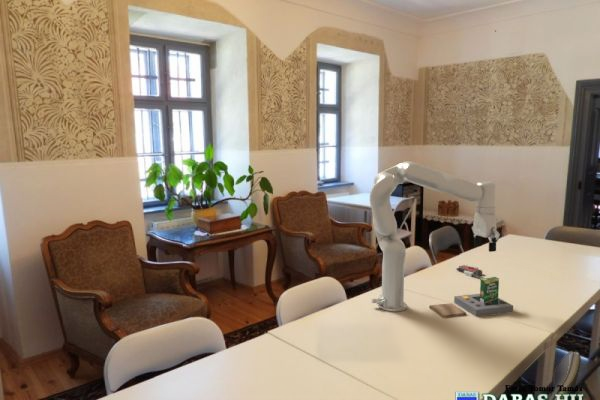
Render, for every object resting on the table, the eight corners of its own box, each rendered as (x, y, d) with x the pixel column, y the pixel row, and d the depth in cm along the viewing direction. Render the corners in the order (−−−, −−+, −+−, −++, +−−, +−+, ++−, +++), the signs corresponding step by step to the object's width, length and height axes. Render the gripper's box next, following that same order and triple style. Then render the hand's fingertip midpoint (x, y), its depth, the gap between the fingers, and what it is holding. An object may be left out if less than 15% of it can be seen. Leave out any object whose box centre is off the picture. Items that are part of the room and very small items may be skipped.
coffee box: (483, 309, 185) (484, 280, 183) (478, 306, 188) (480, 278, 186) (498, 306, 188) (499, 278, 186) (493, 304, 190) (495, 276, 188)
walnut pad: (442, 317, 177) (442, 315, 177) (429, 307, 187) (429, 305, 187) (466, 315, 179) (466, 312, 179) (451, 305, 190) (451, 303, 190)
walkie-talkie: (453, 271, 239) (483, 281, 221) (453, 264, 238) (483, 273, 221) (464, 269, 243) (494, 279, 225) (464, 261, 242) (495, 271, 225)
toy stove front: (475, 316, 177) (476, 308, 177) (454, 302, 193) (454, 295, 192) (513, 312, 181) (513, 304, 181) (488, 298, 197) (489, 291, 196)
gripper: (465, 208, 190) (465, 245, 193) (491, 214, 174) (490, 254, 176) (480, 206, 192) (479, 243, 194) (506, 212, 175) (506, 252, 178)
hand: (484, 248), depth 185 cm, fingers open, 9 cm apart
